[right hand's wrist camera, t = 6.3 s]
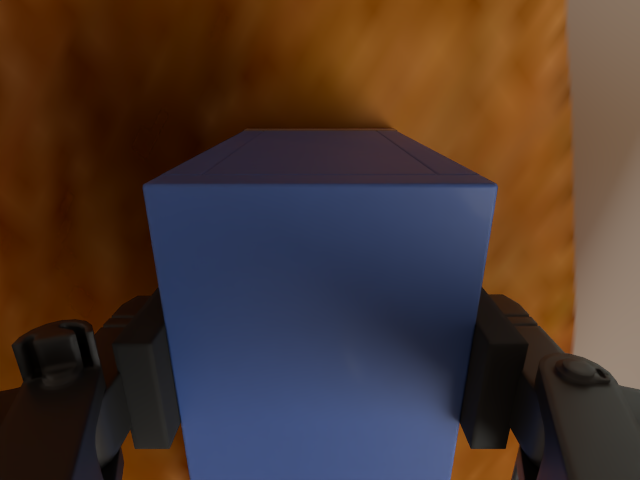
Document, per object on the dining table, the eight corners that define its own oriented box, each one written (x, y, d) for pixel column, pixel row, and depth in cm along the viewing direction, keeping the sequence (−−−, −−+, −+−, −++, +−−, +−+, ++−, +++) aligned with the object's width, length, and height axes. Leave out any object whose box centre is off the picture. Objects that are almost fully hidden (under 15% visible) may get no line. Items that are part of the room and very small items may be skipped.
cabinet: (374, 423, 24) (418, 686, 13) (265, 424, 24) (222, 686, 13) (393, 128, 18) (500, 182, 7) (246, 128, 18) (139, 183, 7)
